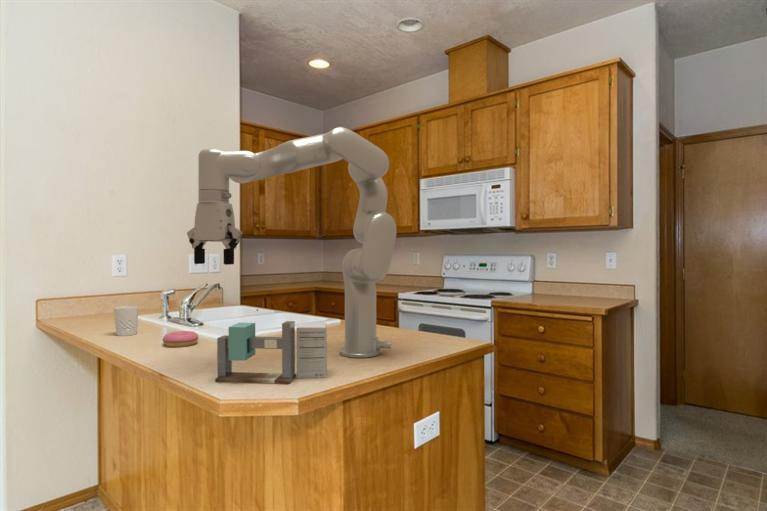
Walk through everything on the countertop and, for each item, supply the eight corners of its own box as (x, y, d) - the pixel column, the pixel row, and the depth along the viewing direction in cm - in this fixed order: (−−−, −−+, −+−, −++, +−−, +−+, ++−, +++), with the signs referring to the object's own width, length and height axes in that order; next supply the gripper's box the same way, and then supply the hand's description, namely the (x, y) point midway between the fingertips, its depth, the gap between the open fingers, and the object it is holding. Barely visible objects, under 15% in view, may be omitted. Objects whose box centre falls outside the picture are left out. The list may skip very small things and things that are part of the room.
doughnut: (168, 350, 148) (168, 336, 147) (158, 344, 156) (157, 332, 156) (203, 345, 155) (203, 332, 155) (191, 340, 163) (191, 328, 163)
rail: (294, 378, 115) (294, 321, 115) (290, 382, 111) (290, 323, 111) (224, 376, 117) (223, 320, 117) (217, 380, 113) (217, 322, 113)
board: (296, 376, 116) (296, 373, 116) (288, 384, 110) (288, 380, 110) (226, 375, 118) (226, 371, 118) (215, 381, 112) (215, 378, 112)
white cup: (143, 333, 174) (142, 306, 174) (121, 337, 167) (121, 309, 167) (131, 331, 178) (130, 305, 178) (109, 335, 172) (109, 307, 171)
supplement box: (298, 370, 122) (298, 322, 122) (327, 370, 123) (327, 321, 123) (296, 378, 115) (295, 327, 115) (326, 378, 116) (326, 326, 115)
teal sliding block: (255, 354, 118) (255, 322, 117) (245, 360, 111) (244, 327, 111) (239, 354, 118) (239, 322, 118) (228, 360, 111) (228, 327, 111)
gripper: (250, 198, 122) (250, 264, 123) (199, 200, 129) (199, 263, 129) (230, 195, 116) (230, 265, 116) (177, 197, 122) (177, 263, 122)
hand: (214, 264), depth 123 cm, fingers open, 9 cm apart
